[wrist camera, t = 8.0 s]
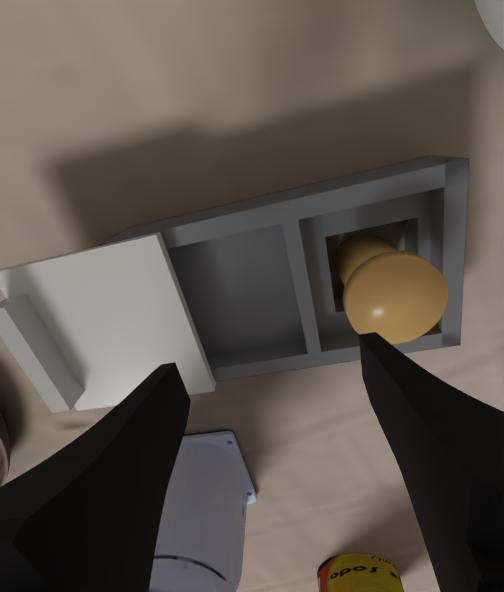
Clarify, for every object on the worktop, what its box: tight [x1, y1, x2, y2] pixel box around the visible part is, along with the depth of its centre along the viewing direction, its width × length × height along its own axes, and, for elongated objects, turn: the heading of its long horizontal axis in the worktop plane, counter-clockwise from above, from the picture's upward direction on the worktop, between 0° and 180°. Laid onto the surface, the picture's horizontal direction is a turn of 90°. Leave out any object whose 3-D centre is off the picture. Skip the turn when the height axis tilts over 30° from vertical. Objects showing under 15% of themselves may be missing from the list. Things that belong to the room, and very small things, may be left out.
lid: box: [0, 232, 216, 413], centre depth 18 cm, size 10×10×2 cm
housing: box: [100, 155, 469, 381], centre depth 19 cm, size 10×18×4 cm, turn 104°
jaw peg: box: [335, 233, 448, 344], centre depth 17 cm, size 4×4×6 cm
